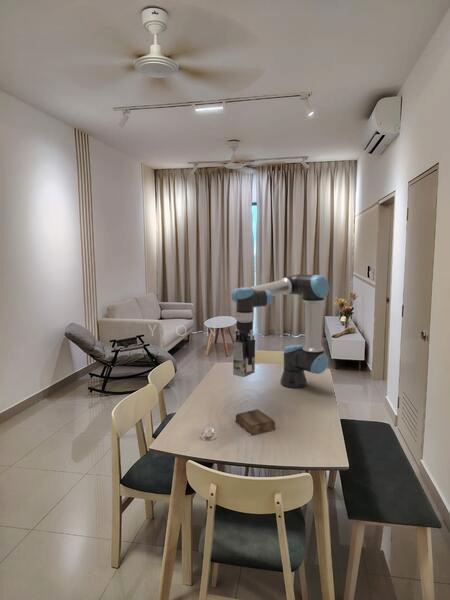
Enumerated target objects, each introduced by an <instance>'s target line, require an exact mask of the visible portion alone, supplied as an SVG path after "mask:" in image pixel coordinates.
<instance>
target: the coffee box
mask: <svg viewBox="0 0 450 600" xmlns="http://www.w3.org/2000/svg"><path fill="white" fill-rule="evenodd" d="M247 344H248V342H243V340H236V341H235V340H234V341H233V361H232V362H233V363H232V364H233V365H232V373H233V374H232V375H233V376H237V377H241V378H245V377H247V376H250V375H252V374H255V373H256V371H255V370H256V368H255V367H256V366H255V365H256V361H255V360H256V356H255V357H253V358H252V371H249V372H246V357H247V354H246V346H247ZM254 350H255V351H256V339H254Z"/></svg>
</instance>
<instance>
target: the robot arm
mask: <svg viewBox="0 0 450 600" xmlns="http://www.w3.org/2000/svg"><path fill="white" fill-rule="evenodd" d="M329 292H330V284H329V281H328V279H327V278H326V277H325V276H324V275H318V274H303V273H299V274H293V275H288V276H285V277H282V278H281V279H280V280H275V281H271V282H268V283H266V282H265V283H263V284H258V285H253V286H250V287H249V286H248V287H238V288H234V289H233V290H232V292H231V295H230V296H231V300H232V301H233V302H234V303H236V316H235V317H236V320H237V321H236V330H235V340H234V341H236V340H243V342H248V344H247V346H246V354H247V357H246V372H249V371H252V358H253V357H255V358H256V349H255V350H254V340H255V335H252V333H251V331H252V330H253V328H254V327H253V325H254V322H253V321H254V320H253V319H254V308H259V307H267V306H270V305H271V304H272V303H273V300H274V298H273V297H276V296H280V295H284V296H287V295H295V296H296V295H297V296H298V295H299V296H301V297H302V301H303V302H304V310H305V311H304V316H305V317H304V321H305V322H304V324H305V325H304V328H305V329H304V331H305V333H304V334H305V335H304V343H305V344H289V345H286V346H284V348H283V371H282V375H281V378H280V385H282V386H283V387H286V388H289V389H301V388H304V387H306V386H307V385H308V384H307V382H308V381H307V377H306V374H305V372H309V373H311V374H316V375H321V374H322V373H324V372H325V371H326V369H327V367H328V365H329V362H330V361H329V356H328V355H327V354H326V353H325V348H324V347H323V346H322V304H323V302H324V301H325V298H326V297H327V296H328V295H329V294H328V293H329Z"/></svg>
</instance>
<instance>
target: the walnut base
mask: <svg viewBox="0 0 450 600" xmlns="http://www.w3.org/2000/svg"><path fill="white" fill-rule="evenodd" d="M235 423H236V424H237V425H239V426H240V427H241V428H242V429H243V428H244V429H245V430H244V429H243V430H244V431H245V432H247V433H248V434H249V433H250V434H251V435H250V434H249V435H250V436H252V435H257V434H261V433H264V432H269V431H272V430H275V429H276V424H275V423H276V421H274V419H272V418H271V417H270V416H268V415H267V414H265V413H264V412H262V411H261V410H259V408H258V409H253V410H249V411H248V410H247V411H244V412H239V413H236V414H235Z"/></svg>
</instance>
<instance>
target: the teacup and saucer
mask: <svg viewBox="0 0 450 600" xmlns="http://www.w3.org/2000/svg"><path fill="white" fill-rule="evenodd" d="M204 432H205V434H204V435H205V437H206V438H207V437H210V438H211V437H212V435H213V434H212V433H215V429H214V428H213V427H212V426H205V427H204Z"/></svg>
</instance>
